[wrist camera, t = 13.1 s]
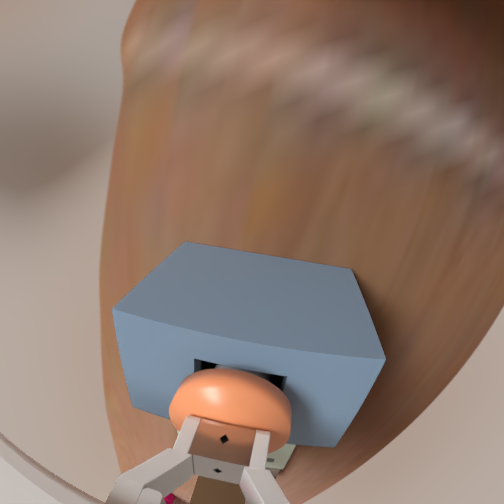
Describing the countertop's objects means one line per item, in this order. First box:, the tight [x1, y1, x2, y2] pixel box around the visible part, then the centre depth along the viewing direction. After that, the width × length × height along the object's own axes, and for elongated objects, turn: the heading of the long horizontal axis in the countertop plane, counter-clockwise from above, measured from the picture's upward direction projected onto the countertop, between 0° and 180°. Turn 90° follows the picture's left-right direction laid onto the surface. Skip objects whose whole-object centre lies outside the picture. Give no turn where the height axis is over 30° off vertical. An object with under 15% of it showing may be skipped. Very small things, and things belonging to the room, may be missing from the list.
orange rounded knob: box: [169, 364, 292, 454], centre depth 11 cm, size 4×4×5 cm
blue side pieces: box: [112, 242, 386, 447], centre depth 14 cm, size 6×10×8 cm, turn 83°
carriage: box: [177, 430, 296, 504], centre depth 14 cm, size 10×9×10 cm
